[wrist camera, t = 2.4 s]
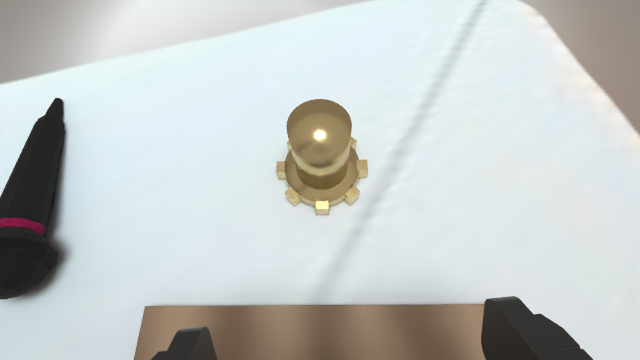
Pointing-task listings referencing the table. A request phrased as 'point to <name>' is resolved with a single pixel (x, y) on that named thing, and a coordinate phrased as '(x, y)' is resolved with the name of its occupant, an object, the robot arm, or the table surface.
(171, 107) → the table surface
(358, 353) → the carrier plate
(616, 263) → the table surface
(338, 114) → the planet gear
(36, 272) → the microphone
